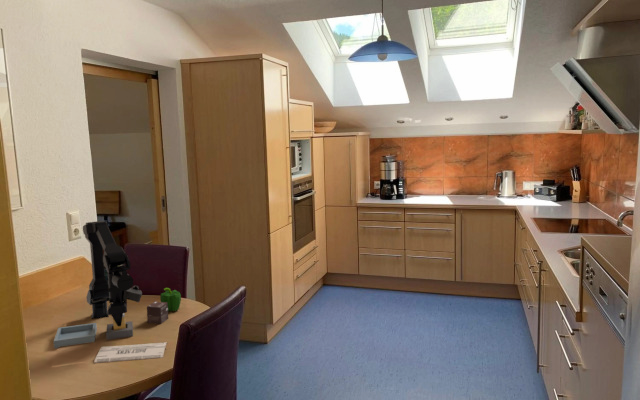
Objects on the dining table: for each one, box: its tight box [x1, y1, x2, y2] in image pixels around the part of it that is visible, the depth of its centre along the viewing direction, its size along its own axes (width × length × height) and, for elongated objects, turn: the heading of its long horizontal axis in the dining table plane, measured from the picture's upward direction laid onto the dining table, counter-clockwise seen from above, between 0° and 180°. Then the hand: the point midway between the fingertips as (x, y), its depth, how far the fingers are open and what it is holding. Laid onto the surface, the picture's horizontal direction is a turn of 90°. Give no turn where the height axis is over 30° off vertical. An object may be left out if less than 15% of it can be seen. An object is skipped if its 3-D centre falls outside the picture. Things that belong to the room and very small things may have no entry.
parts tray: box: [53, 322, 98, 349], centre depth 183 cm, size 13×13×3 cm
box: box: [146, 301, 169, 325], centre depth 199 cm, size 6×6×7 cm
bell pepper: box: [159, 287, 182, 312], centre depth 212 cm, size 8×8×10 cm
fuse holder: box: [105, 320, 134, 341], centre depth 187 cm, size 9×9×3 cm
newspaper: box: [94, 341, 168, 364], centre depth 172 cm, size 23×12×2 cm, turn 99°
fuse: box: [112, 313, 126, 330], centre depth 186 cm, size 3×4×7 cm
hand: (119, 324), depth 186 cm, fingers closed on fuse, 3 cm apart
